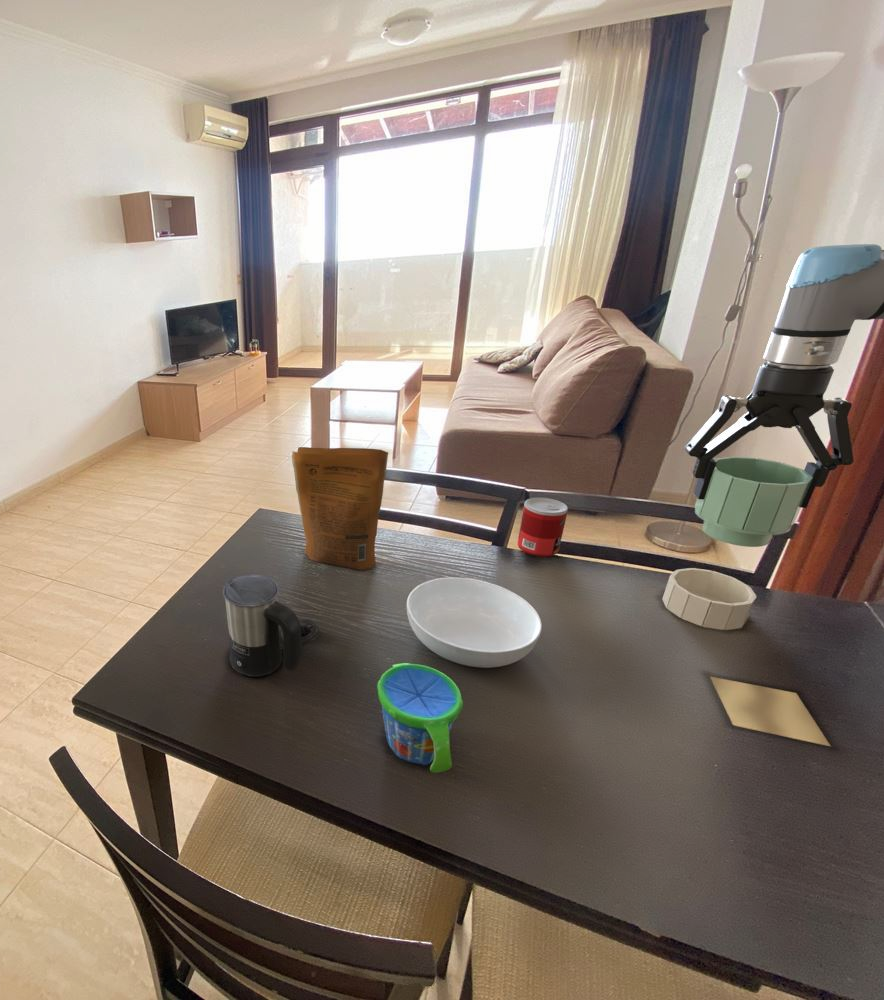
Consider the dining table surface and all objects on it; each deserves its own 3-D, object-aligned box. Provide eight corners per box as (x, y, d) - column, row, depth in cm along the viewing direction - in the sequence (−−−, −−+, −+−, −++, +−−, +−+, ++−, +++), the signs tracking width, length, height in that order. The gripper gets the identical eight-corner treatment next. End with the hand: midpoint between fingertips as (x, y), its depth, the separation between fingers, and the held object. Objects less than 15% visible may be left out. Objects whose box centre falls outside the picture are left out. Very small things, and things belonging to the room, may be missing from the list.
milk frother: (220, 670, 93) (213, 599, 86) (253, 616, 105) (249, 551, 99) (300, 691, 87) (298, 617, 80) (325, 631, 100) (325, 563, 93)
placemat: (795, 694, 79) (796, 692, 78) (830, 749, 71) (831, 746, 70) (708, 678, 83) (709, 676, 82) (731, 727, 75) (732, 725, 74)
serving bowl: (565, 666, 87) (573, 632, 84) (455, 700, 83) (460, 666, 80) (475, 596, 105) (480, 566, 103) (381, 621, 101) (383, 591, 98)
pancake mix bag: (378, 578, 113) (385, 454, 101) (292, 562, 122) (290, 445, 110) (384, 562, 119) (392, 443, 107) (302, 547, 127) (301, 435, 115)
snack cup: (364, 703, 84) (366, 652, 79) (432, 700, 83) (439, 649, 79) (390, 795, 69) (395, 740, 65) (473, 793, 69) (484, 736, 65)
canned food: (561, 560, 114) (572, 514, 109) (519, 556, 117) (527, 511, 112) (554, 542, 121) (563, 498, 116) (514, 539, 123) (522, 496, 119)
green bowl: (766, 522, 91) (791, 459, 86) (797, 556, 82) (827, 488, 77) (681, 514, 96) (699, 454, 91) (701, 546, 87) (723, 481, 82)
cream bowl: (731, 599, 99) (741, 574, 96) (755, 637, 90) (767, 610, 87) (656, 588, 103) (663, 564, 101) (671, 623, 94) (680, 597, 92)
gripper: (699, 369, 79) (660, 501, 88) (935, 370, 69) (864, 519, 78) (685, 358, 85) (650, 483, 94) (900, 358, 75) (837, 498, 84)
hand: (747, 500), depth 86 cm, fingers closed on green bowl, 12 cm apart
